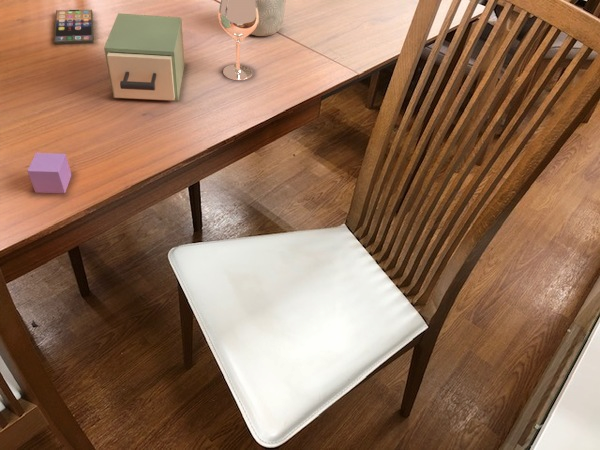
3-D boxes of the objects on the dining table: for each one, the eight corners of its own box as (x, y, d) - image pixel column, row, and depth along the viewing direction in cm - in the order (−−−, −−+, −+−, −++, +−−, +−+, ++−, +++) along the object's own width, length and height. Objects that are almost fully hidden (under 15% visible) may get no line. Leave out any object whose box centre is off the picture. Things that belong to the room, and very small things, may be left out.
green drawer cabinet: (178, 101, 102) (174, 51, 94) (113, 98, 100) (103, 47, 92) (184, 64, 112) (181, 17, 104) (125, 61, 110) (118, 13, 103)
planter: (230, 37, 123) (230, -9, 115) (238, 15, 131) (238, -29, 124) (281, 43, 123) (284, -2, 115) (285, 21, 132) (289, -23, 124)
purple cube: (35, 192, 80) (27, 170, 77) (43, 174, 83) (35, 152, 80) (65, 193, 81) (58, 171, 77) (71, 175, 84) (65, 153, 80)
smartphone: (54, 44, 112) (53, 39, 111) (57, 14, 122) (56, 9, 121) (93, 43, 114) (92, 38, 113) (92, 14, 124) (91, 9, 123)
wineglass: (241, 60, 116) (243, -22, 103) (263, 76, 112) (268, -8, 99) (211, 69, 111) (209, -15, 98) (233, 86, 107) (234, 1, 95)
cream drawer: (171, 114, 97) (167, 72, 90) (109, 111, 95) (101, 69, 89) (180, 65, 109) (177, 26, 103) (126, 62, 108) (119, 22, 102)
